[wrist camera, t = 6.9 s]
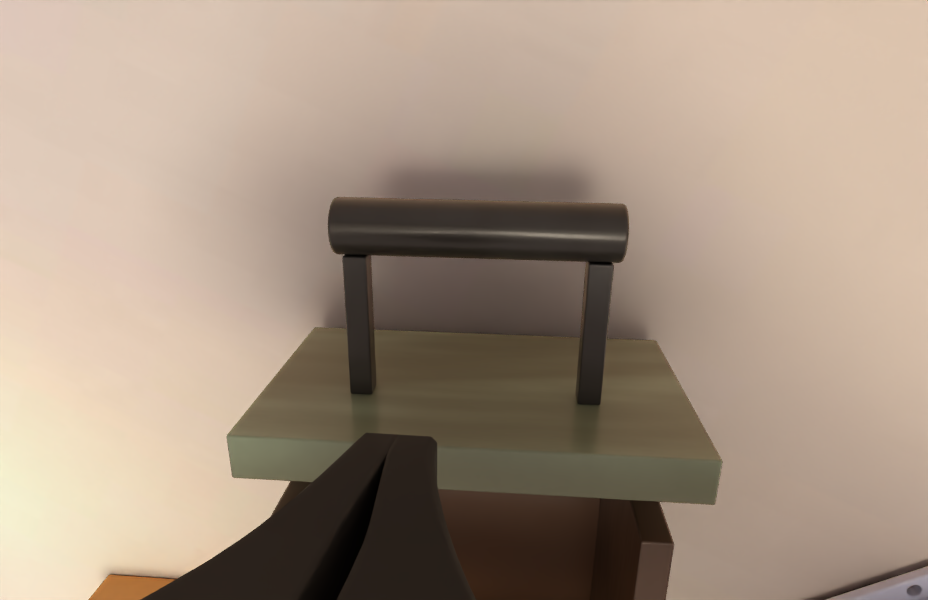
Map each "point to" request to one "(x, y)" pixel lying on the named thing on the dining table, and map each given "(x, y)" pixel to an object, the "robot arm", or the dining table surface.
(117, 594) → the capsule-topped tan block
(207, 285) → the dining table surface
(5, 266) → the dining table surface
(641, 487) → the drawer
